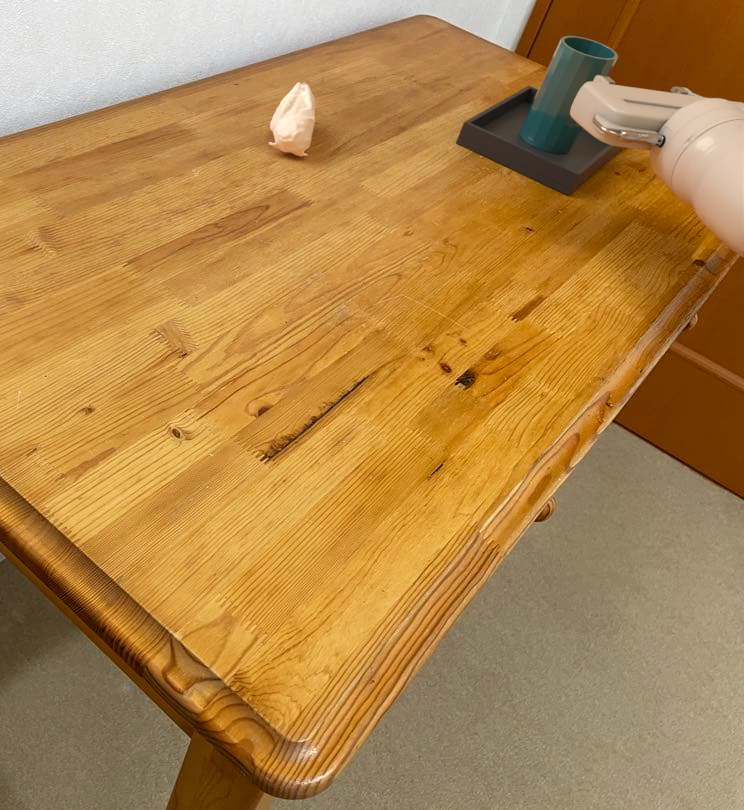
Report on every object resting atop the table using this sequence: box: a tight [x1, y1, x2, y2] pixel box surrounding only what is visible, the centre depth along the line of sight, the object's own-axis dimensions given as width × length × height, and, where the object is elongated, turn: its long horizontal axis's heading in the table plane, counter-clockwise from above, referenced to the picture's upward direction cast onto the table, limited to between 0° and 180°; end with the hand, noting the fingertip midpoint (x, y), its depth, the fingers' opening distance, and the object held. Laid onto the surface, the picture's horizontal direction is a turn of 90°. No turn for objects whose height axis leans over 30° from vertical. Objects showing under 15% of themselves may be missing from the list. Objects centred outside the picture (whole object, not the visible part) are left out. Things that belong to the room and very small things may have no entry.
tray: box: [455, 85, 625, 196], centre depth 109 cm, size 21×15×3 cm
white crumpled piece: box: [268, 81, 316, 157], centre depth 96 cm, size 5×7×10 cm
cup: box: [519, 35, 619, 154], centre depth 105 cm, size 7×7×12 cm
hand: (636, 88), depth 93 cm, fingers open, 8 cm apart
